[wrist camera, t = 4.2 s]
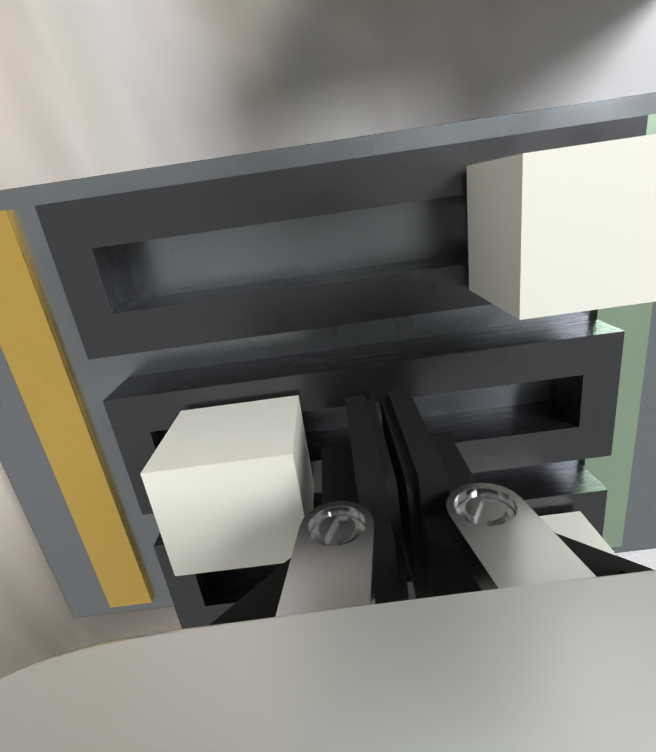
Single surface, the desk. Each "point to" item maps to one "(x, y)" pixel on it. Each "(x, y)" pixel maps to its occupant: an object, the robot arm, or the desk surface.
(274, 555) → the handle
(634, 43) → the desk surface
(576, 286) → the block
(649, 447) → the breaker panel
